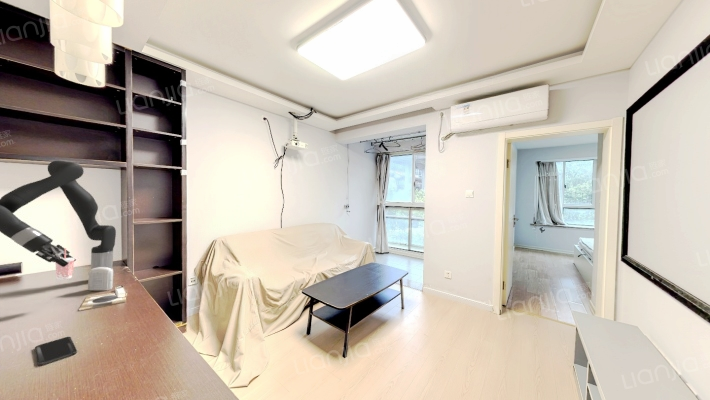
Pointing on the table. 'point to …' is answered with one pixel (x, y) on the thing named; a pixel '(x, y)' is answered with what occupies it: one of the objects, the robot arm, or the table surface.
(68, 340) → the phone
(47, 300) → the table surface
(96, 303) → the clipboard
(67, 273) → the beverage cup
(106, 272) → the photo printer
